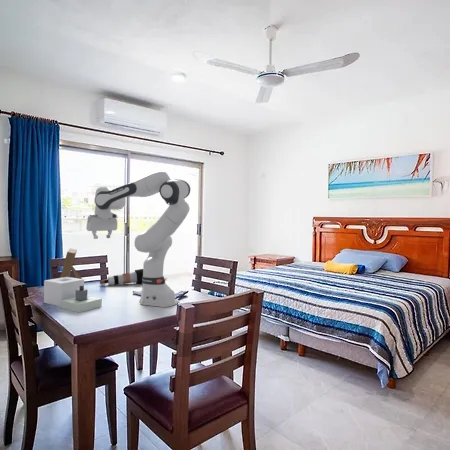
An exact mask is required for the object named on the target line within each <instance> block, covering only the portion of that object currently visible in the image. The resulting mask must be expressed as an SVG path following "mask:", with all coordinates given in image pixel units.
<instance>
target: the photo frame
mask: <svg viewBox="0 0 450 450" xmlns="http://www.w3.org/2000/svg"><path fill="white" fill-rule="evenodd" d="M77 251H78V249H76V248H71V247H69V248H68V250H67V252H66V254H65V259H64V262H63V266H62V269H61V272H60V276H59V278H63V277H71V274H73V276H74V277H73V278H78V279H83V277H81V275H80V274H79V273H78V271H77V270H76V268H74V266H73V265H74V262H75V258H76V254H77Z"/></svg>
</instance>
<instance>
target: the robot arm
mask: <svg viewBox="0 0 450 450" xmlns="http://www.w3.org/2000/svg"><path fill="white" fill-rule="evenodd" d="M158 193H159V195H160V197H161V198H162V199H163V200H164V202H165V203H166V205H169V206H168V207H167V208H166V210H165V211H164V212H163V213H162V214H161V216H160V217H159V219H158V220H157V221H155V223H153V224H152V225H151V226H150V227H149V228H148V229H146V230H145V231H144V232H142V233H140V234H138V235H137V236H136V237H135V238H134V247H135V249H136V251H137V252H141V253H144V254H145V253H147V254H148V255H147V258H146V259H145V260H144V261H143V267H142V269H143V276H142V287H141V288H142V289H141V293H140V298H139V305H142V306H152V307H161V308H167V307H173V306H175V305H176V306H177V303H178V304H179V303H180V300H178V299H176V295H175V294H176V293H175V292H174V290H173V289H172V288H171V287H170V286H169V285H168V284H167V283H166V281H167V280H168V277H167V278H165V276H164V265H165V260H166V259H165V258H166V257H167V256H166V255H167V253H168V250H169V249H170V248H171V247H172V245H173V239H172V235H173V234H174V233H175V232H176V231H177V230H178V229H179V228H180V226H181V225H182V224H183V222H184V221H185V219H186V217H187V216H188V214H189V212H190V210H191V209H190V205H189V203H188V202H187V201H186V200H185V199H186V198H187V197H189V195H190V193H191V185H190V184H189V183H188V182H187V181H186V180H183V179H177V178H173V179H171V177H170V176H169V174H168V173H167V172H166V171H164V170H158V171H154V172H151V173H149V174H147V175H145V176H142V177H139V178H138V179H136V180H133V181H132V182H129V183H127V184H124V185H121V186H119V187H116V188H114V189H111V187H108V186H101V187H98V188H96V190H95V194H94V195H95V196H94V204H95V205H94V206H95V207H94V214H89V215H88V216H87V221H86V222H87V223H86V228H85V229H86V231H88V232H91V234H92V236H93V239H94V240H96V239H99V238H98V237H99V236H98V235H97V232H100V231H101V232H103V231H107V235H106V236H105V237H106V239H110V238H111V235H112V233H113V231H117V230H118V214H117V213H114V212H112V210H118V211H119V210H122V209H124V207H125V205H126V198H131V197H132V198H133V197H136V198H137V197H140V198H146V197H147V198H148V197H151V196H154V195H156V194H158Z"/></svg>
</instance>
